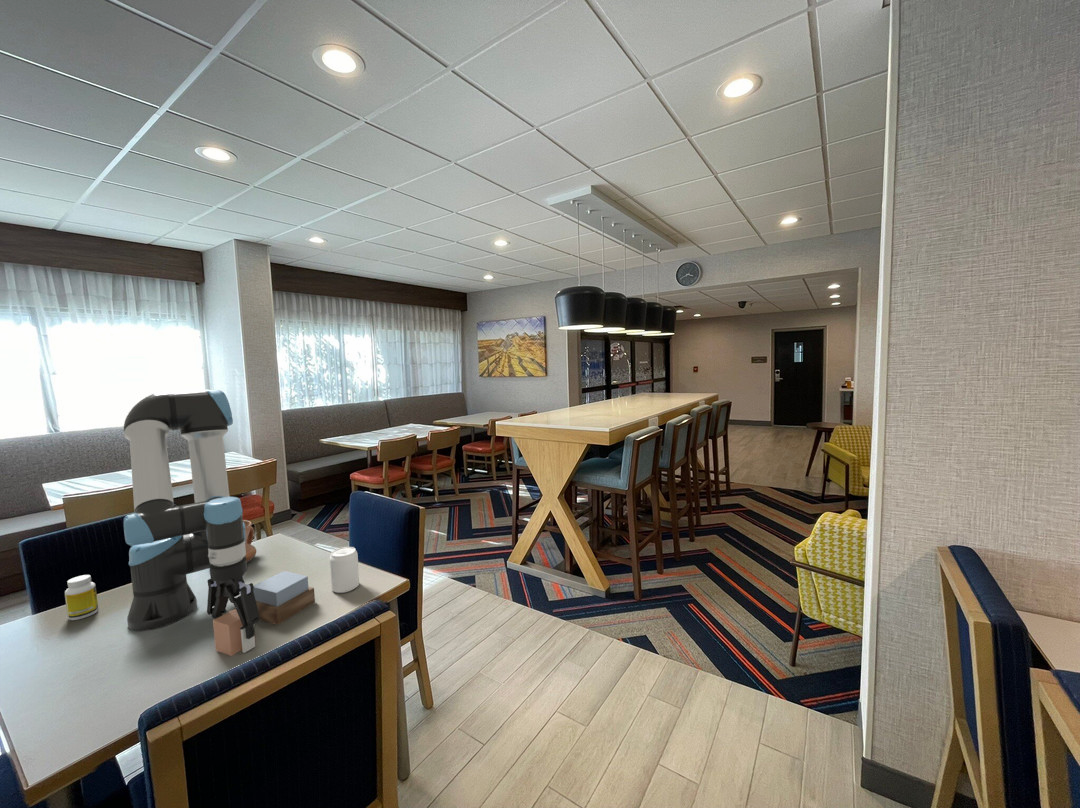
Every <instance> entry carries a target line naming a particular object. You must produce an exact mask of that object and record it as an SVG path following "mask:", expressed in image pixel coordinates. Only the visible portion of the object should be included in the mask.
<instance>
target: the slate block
mask: <svg viewBox="0 0 1080 808" xmlns="http://www.w3.org/2000/svg"><path fill="white" fill-rule="evenodd" d="M253 586H254V596H255V600H256V601H259V602H262V603H266V604H269V605H273V606H277V607H278V606H279V605H281V604H283V603H285V602H286V601H288V600H290V599H292V598H294V597H295V596H297V595H299V594H301V593H303V592H304V591H306V590H308V589H309V588H308V587H309V577H308V575H303V574H299V573H295V572H290V571H286V570H283V571H280V572H279V573H277V574H275V575H273V576H270V577H268V578H266V579H264V580H262V581H260V582H258V583H256V584H255V585H254V584H253Z"/></svg>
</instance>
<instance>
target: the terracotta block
mask: <svg viewBox="0 0 1080 808" xmlns="http://www.w3.org/2000/svg"><path fill="white" fill-rule="evenodd" d="M212 625H213V634H214V635H213V636H214V645H215V646H214V647H215V651H216V652H219V653H222V654H225V655H228V656H230V657H231V656H234V655H236V654H238V652H241V651H242V640H241V629H240V627H242V626H243V625H242V623H241V620H240V618H239V615H238V613H237V611H236V608H234V609H232V610H230V611H227V612H226V613H224V614H223V615H222V616H220V617H218V618H216V619H213V620H212ZM255 631H256V630H254V632H255ZM254 637H255V638H256V634H255V635H254Z"/></svg>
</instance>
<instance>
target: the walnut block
mask: <svg viewBox="0 0 1080 808" xmlns="http://www.w3.org/2000/svg"><path fill="white" fill-rule="evenodd" d="M308 588H309V589H308V590H306V591H304V592H303V593H301V594H299V595H297V596H295V597H294V598H292V599H290V600H288V601H286V602H285V603H283V604H281V605H279V606H278V607H277V606H273V605H269V604H266V603H262V602H259V601H256V604H257V608H258V612H259V616H260V621H263V622H267V623H270V624H274V625H277V626H279V625H280V624H282V623H284V622H285V621H287V620H289V619H291V618H292V617H293V616H296V615H297V614H298V613H300V612H302V611H304V610H306V609H307V608H308V607H310V606H311V605H313V604H315V603H316V597H315V588H314V587H312V586H308Z"/></svg>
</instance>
